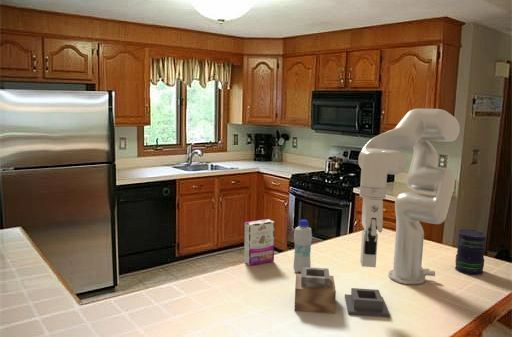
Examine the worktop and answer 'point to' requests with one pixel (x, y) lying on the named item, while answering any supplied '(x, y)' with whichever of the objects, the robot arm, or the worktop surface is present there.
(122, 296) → the worktop surface
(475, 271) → the storage jar
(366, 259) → the plug
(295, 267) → the bottle
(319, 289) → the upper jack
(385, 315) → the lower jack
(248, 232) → the candy bar box
